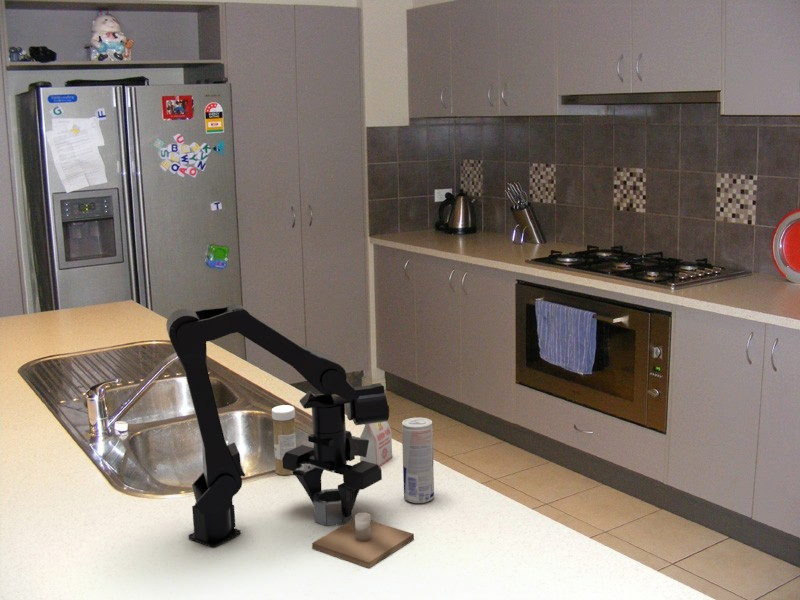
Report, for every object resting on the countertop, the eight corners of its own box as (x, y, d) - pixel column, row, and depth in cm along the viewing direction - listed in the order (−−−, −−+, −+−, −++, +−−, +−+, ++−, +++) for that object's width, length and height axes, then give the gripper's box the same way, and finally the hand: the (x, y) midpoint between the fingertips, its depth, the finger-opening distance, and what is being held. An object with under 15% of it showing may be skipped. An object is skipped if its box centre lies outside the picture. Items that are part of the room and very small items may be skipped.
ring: (335, 528, 158) (334, 507, 157) (306, 519, 162) (305, 498, 161) (359, 515, 163) (358, 494, 162) (331, 506, 167) (330, 486, 166)
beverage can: (440, 497, 170) (438, 420, 167) (420, 507, 166) (418, 428, 163) (417, 490, 173) (415, 414, 170) (397, 499, 169) (395, 422, 166)
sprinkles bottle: (275, 468, 186) (271, 405, 184) (298, 466, 187) (294, 403, 184) (274, 476, 182) (271, 412, 179) (297, 475, 182) (294, 410, 180)
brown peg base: (368, 568, 144) (367, 538, 143) (312, 548, 151) (310, 520, 150) (413, 539, 153) (413, 511, 152) (358, 522, 160) (357, 495, 159)
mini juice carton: (360, 466, 186) (358, 419, 184) (376, 455, 192) (375, 409, 190) (376, 469, 184) (374, 422, 182) (392, 458, 190) (390, 412, 188)
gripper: (399, 424, 160) (402, 508, 163) (320, 407, 171) (323, 485, 174) (359, 443, 151) (362, 531, 154) (278, 423, 162) (282, 505, 165)
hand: (333, 511), depth 162 cm, fingers closed on ring, 7 cm apart
